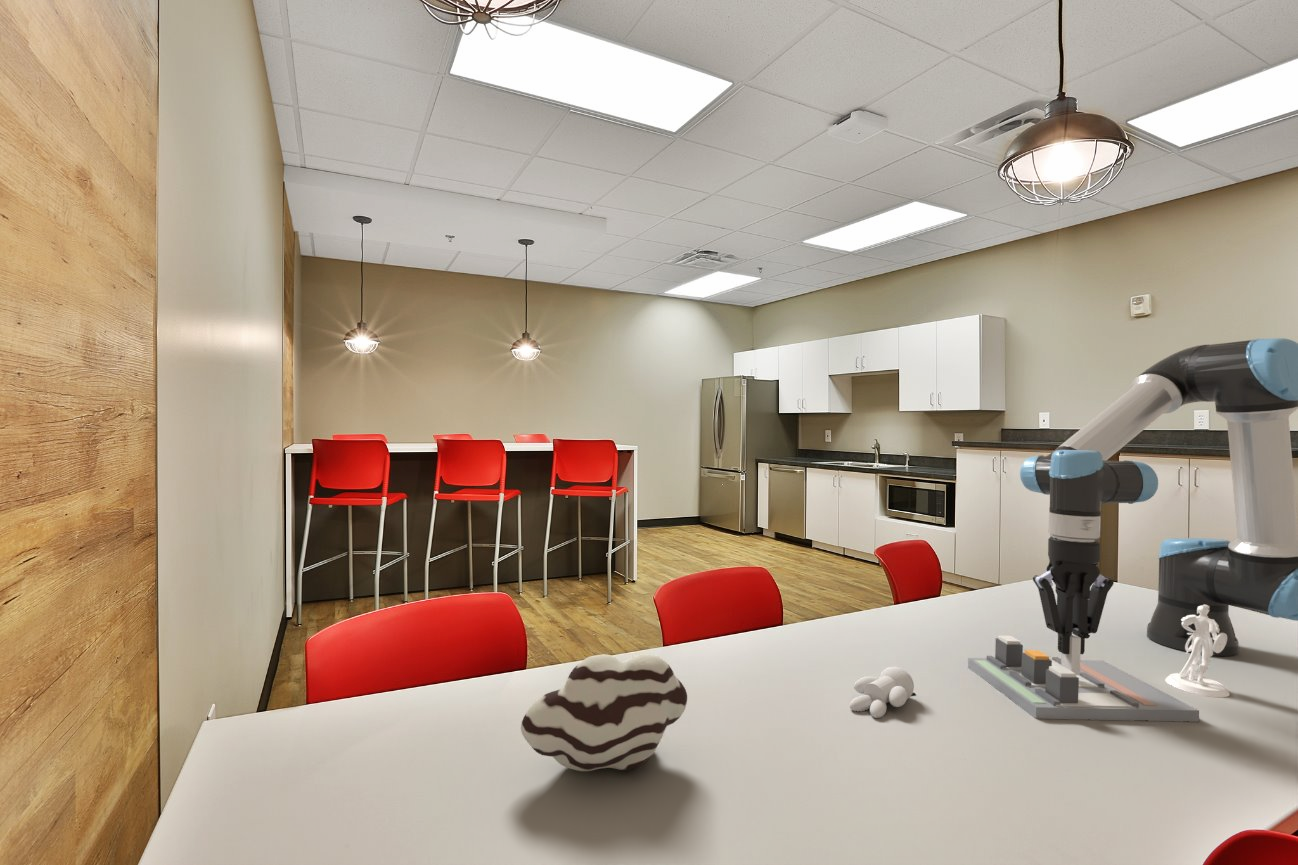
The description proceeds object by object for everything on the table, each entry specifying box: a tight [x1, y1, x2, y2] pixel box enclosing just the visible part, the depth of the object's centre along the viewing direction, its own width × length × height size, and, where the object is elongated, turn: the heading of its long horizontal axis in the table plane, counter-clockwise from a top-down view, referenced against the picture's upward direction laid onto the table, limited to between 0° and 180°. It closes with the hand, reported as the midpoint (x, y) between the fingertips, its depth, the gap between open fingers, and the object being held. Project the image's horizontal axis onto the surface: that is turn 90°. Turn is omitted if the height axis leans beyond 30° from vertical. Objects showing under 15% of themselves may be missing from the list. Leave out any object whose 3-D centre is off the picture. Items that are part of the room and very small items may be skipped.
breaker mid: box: [1021, 649, 1052, 684], centre depth 110 cm, size 3×4×5 cm
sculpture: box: [520, 653, 688, 772], centre depth 82 cm, size 22×12×15 cm, turn 106°
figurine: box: [1165, 605, 1231, 698], centre depth 114 cm, size 9×9×15 cm
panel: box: [967, 655, 1200, 723], centre depth 110 cm, size 26×21×2 cm
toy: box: [849, 666, 917, 719], centre depth 104 cm, size 8×6×15 cm
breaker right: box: [1045, 666, 1079, 703], centre depth 102 cm, size 3×4×5 cm
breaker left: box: [994, 635, 1024, 667], centre depth 117 cm, size 3×4×5 cm
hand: (1070, 671), depth 110 cm, fingers closed
